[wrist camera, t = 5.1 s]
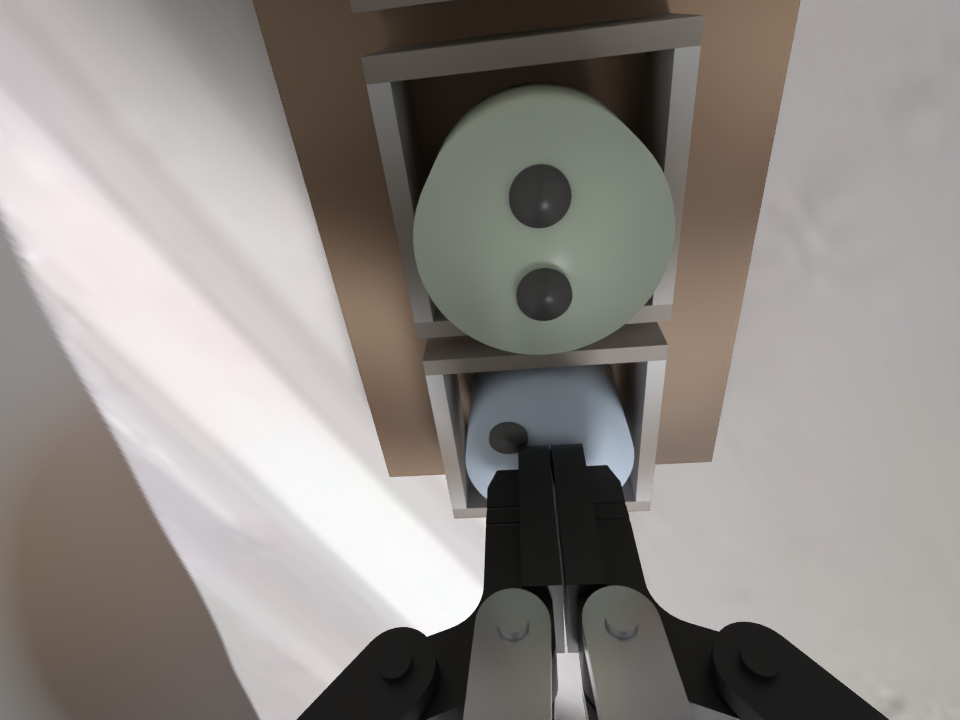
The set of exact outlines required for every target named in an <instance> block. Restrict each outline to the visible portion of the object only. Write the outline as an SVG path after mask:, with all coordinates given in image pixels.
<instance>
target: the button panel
mask: <svg viewBox="0 0 960 720" xmlns="http://www.w3.org/2000/svg"><path fill="white" fill-rule="evenodd" d="M253 3H254V7H255V10H256V14H257V17H258V21H259V24H260V28H261V31H262V35H263V38H264V41H265V45H266V48H267V52H268V55H269V59H270V62H271V66H272V69H273V73H274V76H275V80H276V83H277V87H278V90H279V94H280V97H281V101H282V104H283V108H284V111H285V114H286V118H287V121H288V125H289V128H290V132H291V135H292V139H293V142H294V146H295V149H296V153H297V156H298V160H299V163H300V167H301V170H302V174H303V177H304V181H305V184H306V187H307V191H308V194H309V198H310V201H311V205H312V208H313V212H314V215H315V219H316V222H317V226H318V229H319V233H320V236H321V240H322V243H323V247H324V250H325V254H326V257H327V260H328V264H329V267H330V271H331V274H332V278H333V281H334V285H335V288H336V292H337V295H338V299H339V302H340V306H341V309H342V313H343V316H344V320H345V323H346V327H347V330H348V333H349V337H350V340H351V344H352V347H353V351H354V354H355V358H356V361H357V365H358V368H359V372H360V375H361V379H362V382H363V386H364V389H365V393H366V396H367V400H368V403H369V406H370V410H371V413H372V417H373V420H374V424H375V427H376V431H377V434H378V438H379V441H380V445H381V448H382V452H383V455H384V459H385V462H386V466H387V469H388V473H389V476H390V477H400V476H421V475H442V474H446V479H447V484H448V489H449V494H450V499H451V504H452V509H453V514H454V519H455V518H480V517H486V513H487V499H486V498H485V497H484V496H483V495H482V494H481V493H480V492H479V491H478V490H477V489H476V488H475V486H474V485H473V483H472V482H471V480H470V477H469V475H468V472H467V469H466V460H465V458H466V446H467V434H468V422H469V411H470V399H471V388H472V384H473V380H474V378H475V376H476V373H477V372H490V371H506V370H521V369H537V368H552V367H567V366H583V365H598V364H607V365H608V367H609V369H610V370H611V372H612V375H613V377H614V380H615V384H616V387H617V391H618V394H619V398H620V401H621V405H622V408H623V411H624V415H625V418H626V422H627V425H628V429H629V432H630V435H631V439H632V442H633V447H634V463H633V468H632V470H631V473H630V475H629V477H628V479H627V481H626V482H625V483H624V485H623V486H622V490H623V494H624V498H625V504H626V506H627V510H628V512H633V511H650V505H651V496H652V486H653V477H654V468H655V464H675V463H696V462H712V457H713V451H714V446H715V441H716V436H717V431H718V425H719V420H720V415H721V410H722V405H723V400H724V394H725V389H726V384H727V379H728V374H729V368H730V363H731V358H732V353H733V348H734V342H735V337H736V332H737V327H738V322H739V317H740V311H741V306H742V301H743V296H744V291H745V285H746V280H747V275H748V270H749V265H750V260H751V254H752V249H753V244H754V239H755V234H756V228H757V223H758V218H759V213H760V208H761V202H762V197H763V192H764V187H765V182H766V177H767V171H768V166H769V161H770V156H771V151H772V145H773V140H774V135H775V130H776V125H777V119H778V114H779V109H780V104H781V99H782V94H783V88H784V83H785V78H786V73H787V68H788V62H789V57H790V52H791V47H792V42H793V37H794V31H795V26H796V21H797V16H798V11H799V5H800V0H253ZM529 82H550V83H559V84H563V85H567V86H571V87H574V88H576V89H579V90H581V91H583V92H586V93H588V94H589V95H591V96H593V97H594V98H596V99H597V100H599V101H600V102H602V103H603V104H604V105H605V106H606V107H607V108H609V109H610V110H611V111H612V112H613V113H614V114H615V115H616V116H617V117H618V118H619V119H620V120H621V121H622V122H623V123H624V124H625V125H626V126H627V128H628V129H629V130H630V131H631V132H632V133H633V134H634V135H635V136H636V137H637V138H638V139H639V140H640V141H641V142H642V143H643V144H644V145H645V147H646V148H647V149H648V150H649V151H650V152H651V153H652V155H653V156H654V158H655V159H656V161H657V162H658V164H659V166H660V167H661V169H662V171H663V173H664V175H665V178H666V180H667V182H668V185H669V188H670V191H671V195H672V199H673V204H674V213H675V237H674V243H673V248H672V253H671V256H670V260H669V263H668V266H667V269H666V271H665V273H664V275H663V277H662V280H661V282H660V284H659V285H658V287H657V288H656V290H655V292H654V293H653V295H652V296H651V298H650V299H649V300H648V301H647V303H646V304H645V305H644V306H643V308H642V309H641V310H640V311H639V312H638V313H637V314H636V315H635V316H634V317H633V318H632V319H631V320H629V321H628V322H627V323H626V324H624V325H623V326H622V327H620V328H619V329H618V330H616V331H615V332H613V333H611V334H610V335H608V336H607V337H605V338H603V339H601V340H599V341H597V342H594V343H592V344H590V345H587V346H584V347H582V348H579V349H576V350H571V351H567V352H563V353H555V354H547V355H529V354H519V353H513V352H508V351H503V350H500V349H497V348H494V347H491V346H488V345H486V344H484V343H482V342H479V341H477V340H475V339H474V338H472V337H470V336H469V335H467V334H465V333H464V332H462V331H461V330H460V329H459V328H457V327H456V326H455V325H454V324H452V323H451V322H450V321H449V320H448V319H447V318H446V317H445V316H444V315H443V314H442V313H441V311H440V310H439V309H438V308H437V306H436V305H435V304H434V302H433V301H432V299H431V298H430V296H429V294H428V292H427V291H426V289H425V287H424V285H423V282H422V280H421V277H420V275H419V272H418V268H417V264H416V260H415V254H414V245H413V226H414V220H415V213H416V208H417V205H418V202H419V198H420V195H421V192H422V190H423V188H424V185H425V183H426V181H427V179H428V176H429V174H430V172H431V169H432V167H433V165H434V162H435V160H436V158H437V156H438V153H439V151H440V149H441V147H442V144H443V142H444V140H445V138H446V137H447V135H448V134H449V132H450V131H451V129H452V127H453V126H454V125H455V124H456V123H457V121H458V120H459V119H460V118H461V117H462V116H463V115H464V114H465V113H466V112H467V111H468V110H469V109H470V108H471V107H472V106H474V105H475V104H476V103H478V102H479V101H481V100H482V99H484V98H485V97H487V96H489V95H491V94H493V93H495V92H497V91H499V90H501V89H504V88H507V87H510V86H513V85H518V84H523V83H529Z"/></svg>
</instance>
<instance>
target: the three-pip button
mask: <svg viewBox="0 0 960 720" xmlns="http://www.w3.org/2000/svg"><path fill="white" fill-rule="evenodd" d="M578 443H582V445H583V450H584V455H585V461H586V466H595V465H608V467H609V468H610V469H611V470H612V472H613V473H614V474H615V475H616V477H617V478H618V479H619V480H620V482H621V486H623V485H624V483H625V482H626V481H627V479H628V477H629V475H630V473H631V470H632V468H633V463H634V447H633V442H632V439H631V435H630V432H629V429H628V425H627V422H626V418H625V415H624V411H623V408H622V405H621V401H620V398H619V394H618V391H617V387H616V384H615V380H614V377H613V375H612V372H611V370H610V369H609V367H608V365H607V364H598V365H583V366H567V367H552V368H537V369H521V370H506V371H490V372H477V373H476V376H475V378H474V380H473V384H472V388H471V399H470V411H469V422H468V434H467V446H466V458H465V460H466V469H467V472H468V475H469V477H470V480H471V482H472V483H473V485H474V486H475V488H476V489H477V490H478V491H479V492H480V493H481V494H482V495H483V496H484V497H485V498H486V499H487V488H488V486H489V484H490V482H491V480H492V478H493V477H494V475H495V473H496V471H497V470H515V469H518V447H523V446H542V445H548V446H549V455H550V465H551V475H552V462H551V445H559V444H578Z"/></svg>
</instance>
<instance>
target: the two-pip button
mask: <svg viewBox="0 0 960 720" xmlns="http://www.w3.org/2000/svg"><path fill="white" fill-rule="evenodd" d="M674 237H675V213H674V204H673V199H672V195H671V191H670V188H669V185H668V182H667V180H666V178H665V175H664V173H663V171H662V169H661V167H660V166H659V164H658V162H657V161H656V159H655V158H654V156H653V155H652V153H651V152H650V151H649V150H648V149H647V148H646V147H645V145H644V144H643V143H642V142H641V141H640V140H639V139H638V138H637V137H636V136H635V135H634V134H633V133H632V132H631V131H630V130H629V129H628V128H627V126H626V125H625V124H624V123H623V122H622V121H621V120H620V119H619V118H618V117H617V116H616V115H615V114H614V113H613V112H612V111H611V110H610V109H609V108H607V107H606V106H605V105H604V104H603V103H602V102H600V101H599V100H597V99H596V98H594V97H593V96H591V95H589V94H588V93H586V92H583V91H581V90H579V89H576V88H574V87H571V86H567V85H563V84H559V83H550V82H529V83H523V84H518V85H513V86H510V87H507V88H504V89H501V90H499V91H497V92H495V93H493V94H491V95H489V96H487V97H485V98H484V99H482V100H481V101H479V102H478V103H476V104H475V105H474V106H472V107H471V108H470V109H469V110H468V111H467V112H466V113H465V114H464V115H463V116H462V117H461V118H460V119H459V120H458V121H457V123H456V124H455V125H454V126H453V127H452V129H451V131H450V132H449V134H448V135H447V137H446V138H445V140H444V142H443V144H442V147H441V149H440V151H439V153H438V156H437V158H436V160H435V162H434V165H433V167H432V169H431V172H430V174H429V176H428V179H427V181H426V183H425V185H424V188H423V190H422V192H421V195H420V198H419V202H418V205H417V208H416V213H415V220H414V226H413V245H414V254H415V260H416V264H417V268H418V272H419V275H420V277H421V280H422V282H423V285H424V287H425V289H426V291H427V292H428V294H429V296H430V298H431V299H432V301H433V302H434V304H435V305H436V306H437V308H438V309H439V310H440V311H441V313H442V314H443V315H444V316H445V317H446V318H447V319H448V320H449V321H450V322H451V323H452V324H454V325H455V326H456V327H457V328H459V329H460V330H461V331H462V332H464V333H465V334H467V335H469V336H470V337H472V338H474V339H475V340H477V341H479V342H482V343H484V344H486V345H488V346H491V347H494V348H497V349H500V350H503V351H508V352H513V353H519V354H529V355H547V354H555V353H563V352H567V351H571V350H576V349H579V348H582V347H584V346H587V345H590V344H592V343H594V342H597V341H599V340H601V339H603V338H605V337H607V336H608V335H610V334H611V333H613V332H615V331H616V330H618V329H619V328H620V327H622V326H623V325H624V324H626V323H627V322H628V321H629V320H631V319H632V318H633V317H634V316H635V315H636V314H637V313H638V312H639V311H640V310H641V309H642V308H643V306H644V305H645V304H646V303H647V301H648V300H649V299H650V298H651V296H652V295H653V293H654V292H655V290H656V288H657V287H658V285H659V284H660V282H661V280H662V277H663V275H664V273H665V271H666V269H667V266H668V263H669V260H670V256H671V253H672V248H673V243H674Z"/></svg>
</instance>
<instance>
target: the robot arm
mask: <svg viewBox="0 0 960 720" xmlns="http://www.w3.org/2000/svg"><path fill="white" fill-rule="evenodd" d="M551 462H552V475H551V465H550V455H549V446H548V445H542V446H523V447H518V469H515V470H497V471H496V473H495V475H494V477H493V478H492V480H491V482H490V484H489V486H488V488H487V513H486V541H485V569H484V590H483V595H482V598H481V601H480V603H479V605H478V607H477V608H476V610H475V611H474V612H473V613H472V614H471V616H470V617H468V618H467V619H466V620H465V621H463V622H462V623H460V624H459V625H457V626H455V627H452V628H450V629H447V630H444V631H442V632H439V633H436V634H434V635H431V636H428V637H426V636H425V635H424V634H423V633H421V632H420V631H418V630H416V629H413V628H408V627H399V628H393V629H390V630H387V631H385V632H383V633H381V634H380V635H379V636H377V637H376V638H375V639H374V640H372V641H371V642H370V643H369V644H368V645H367V646H366V648H365V649H364V650H363V651H362V652H361V653H360V654H359V655H358V656H357V657H356V658H355V659H354V660H353V661H352V662H351V663H350V664H349V665H348V666H347V667H346V668H345V669H344V671H343V672H342V673H341V674H340V675H339V676H338V677H337V678H336V679H335V680H334V681H333V682H332V683H331V684H330V685H329V686H328V687H327V688H326V689H325V690H324V691H323V692H322V694H321V695H320V696H319V697H318V698H317V699H316V700H315V701H314V702H313V703H312V704H311V705H310V706H309V707H308V708H307V709H306V710H305V711H304V712H303V713H302V714H301V715H300V717H299V718H298V719H297V720H555V698H556V695H557V690H558V676H557V656H556V653H565V646H564V616H565V627H566V637H567V647H568V653H578V652H579V659H580V668H581V676H582V698H583V703H584V709H585V714H586V720H889V719H888V718H886V717H885V716H884V715H882V714H881V713H880V712H879V711H877V710H876V709H875V708H873V707H872V706H871V705H870V704H868V703H867V702H866V701H864V700H863V699H862V698H861V697H859V696H858V695H857V694H856V693H854V692H853V691H852V690H850V689H849V688H848V687H847V686H845V685H844V684H843V683H841V682H840V681H839V680H838V679H836V678H835V677H834V676H832V675H831V674H830V673H829V672H827V671H826V670H825V669H823V668H822V667H821V666H820V665H818V664H817V663H816V662H815V661H813V660H812V659H811V658H809V657H808V656H807V655H806V654H804V653H803V652H802V651H800V650H799V649H798V648H797V647H795V646H794V645H793V644H791V643H790V642H789V641H788V640H786V639H785V638H784V637H782V636H781V635H780V634H778V633H777V632H775V631H773V630H772V629H770V628H768V627H765V626H763V625H760V624H756V623H752V622H736V623H732V624H729V625H727V626H725V627H724V628H723V629H722V630H720V632H718V631H715V630H711V629H708V628H704V627H701V626H698V625H694V624H691V623H688V622H685V621H682V620H680V619H678V618H676V617H674V616H672V615H670V614H669V613H667V612H666V611H665V610H664V609H662V608H661V607H660V606H659V605H658V604H657V603H656V602H655V600H654V599H653V598H652V596H651V595H650V593H649V591H648V589H647V587H646V583H645V580H644V576H643V572H642V568H641V564H640V560H639V555H638V551H637V547H636V543H635V539H634V535H633V531H632V527H631V523H630V520H629V514H628V510H627V506H626V504H625V498H624V494H623V490H622V486H621V482H620V480H619V479H618V478H617V477H616V475H615V474H614V473H613V472H612V470H611V469H610V468H609V467H608V465H595V466H586V461H585V455H584V450H583V445H582V443H578V444H559V445H551ZM563 606H564V616H563Z"/></svg>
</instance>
